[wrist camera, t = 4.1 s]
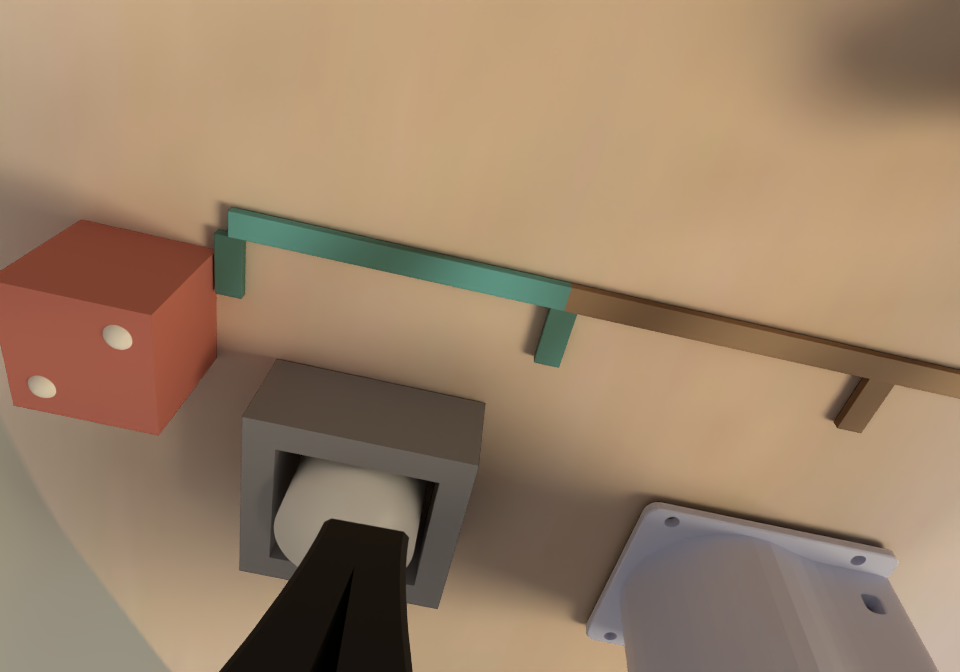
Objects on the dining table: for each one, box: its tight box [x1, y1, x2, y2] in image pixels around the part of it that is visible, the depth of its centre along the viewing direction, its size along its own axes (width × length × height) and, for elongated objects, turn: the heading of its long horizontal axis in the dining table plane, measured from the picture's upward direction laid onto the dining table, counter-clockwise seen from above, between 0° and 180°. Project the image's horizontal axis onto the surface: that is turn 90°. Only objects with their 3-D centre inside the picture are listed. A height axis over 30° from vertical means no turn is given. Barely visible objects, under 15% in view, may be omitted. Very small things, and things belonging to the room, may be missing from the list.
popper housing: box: [239, 359, 485, 609], centre depth 22 cm, size 7×7×3 cm
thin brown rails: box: [214, 207, 960, 433], centre depth 15 cm, size 31×21×1 cm
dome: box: [274, 455, 427, 567], centre depth 21 cm, size 4×4×3 cm
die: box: [0, 220, 217, 435], centre depth 19 cm, size 4×4×4 cm
